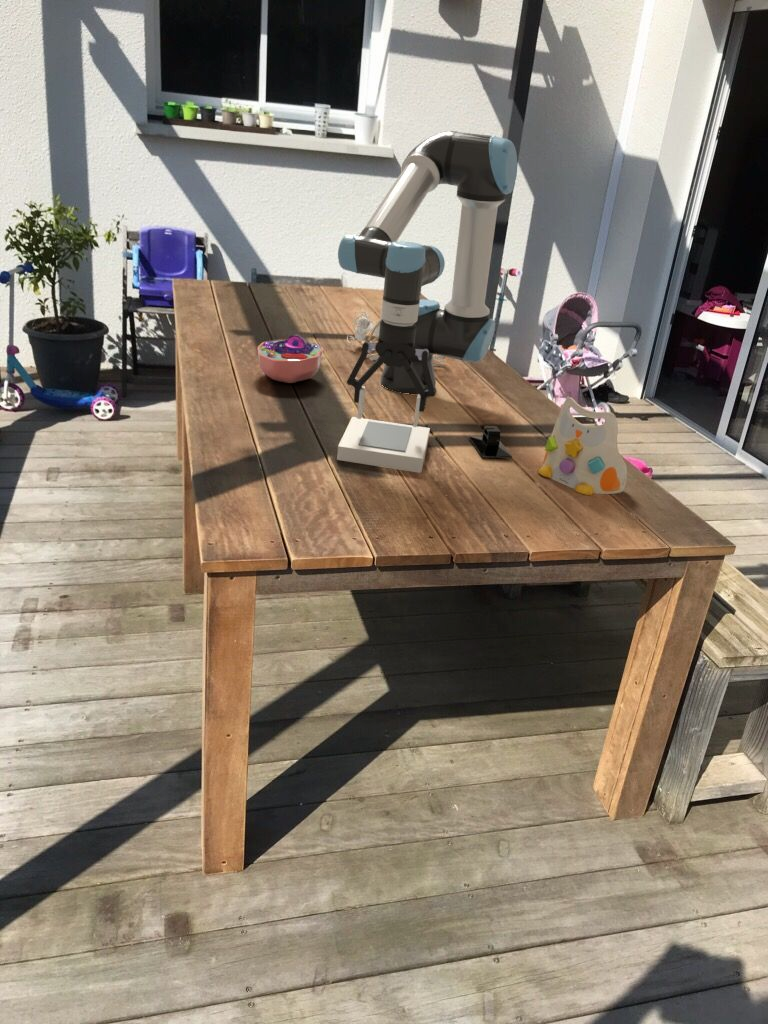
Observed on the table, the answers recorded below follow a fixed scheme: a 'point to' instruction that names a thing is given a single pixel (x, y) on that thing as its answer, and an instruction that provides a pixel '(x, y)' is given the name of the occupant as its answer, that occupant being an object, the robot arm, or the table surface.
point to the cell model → (289, 359)
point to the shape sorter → (585, 453)
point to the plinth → (384, 444)
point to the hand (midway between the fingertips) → (387, 420)
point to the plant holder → (366, 327)
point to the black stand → (490, 443)
